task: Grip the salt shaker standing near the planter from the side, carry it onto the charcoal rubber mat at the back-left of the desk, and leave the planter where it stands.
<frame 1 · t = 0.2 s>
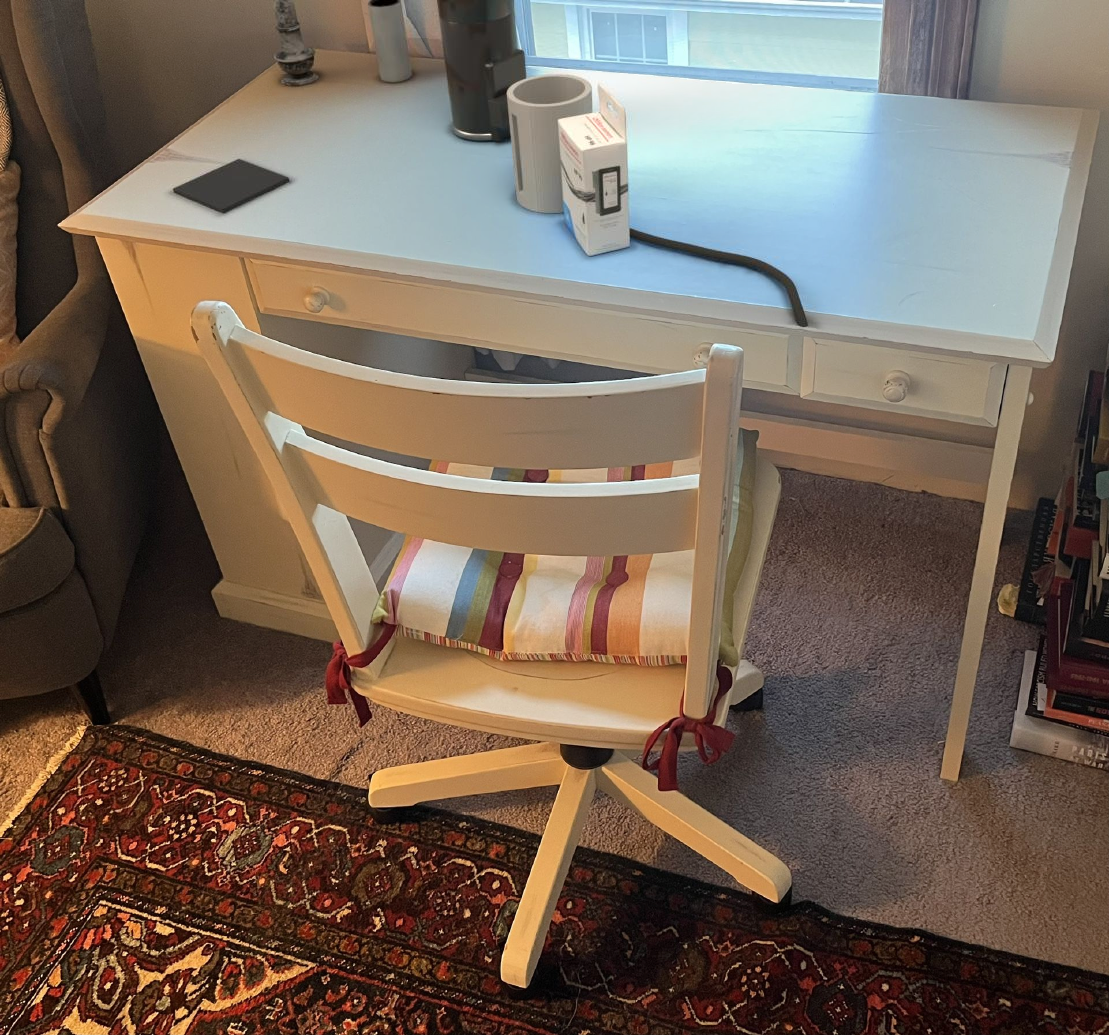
ink box: (596, 237, 117), on the table
planter: (396, 78, 156), on the table
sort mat: (231, 186, 132), on the table
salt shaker: (300, 80, 158), on the table
cup: (556, 196, 125), on the table
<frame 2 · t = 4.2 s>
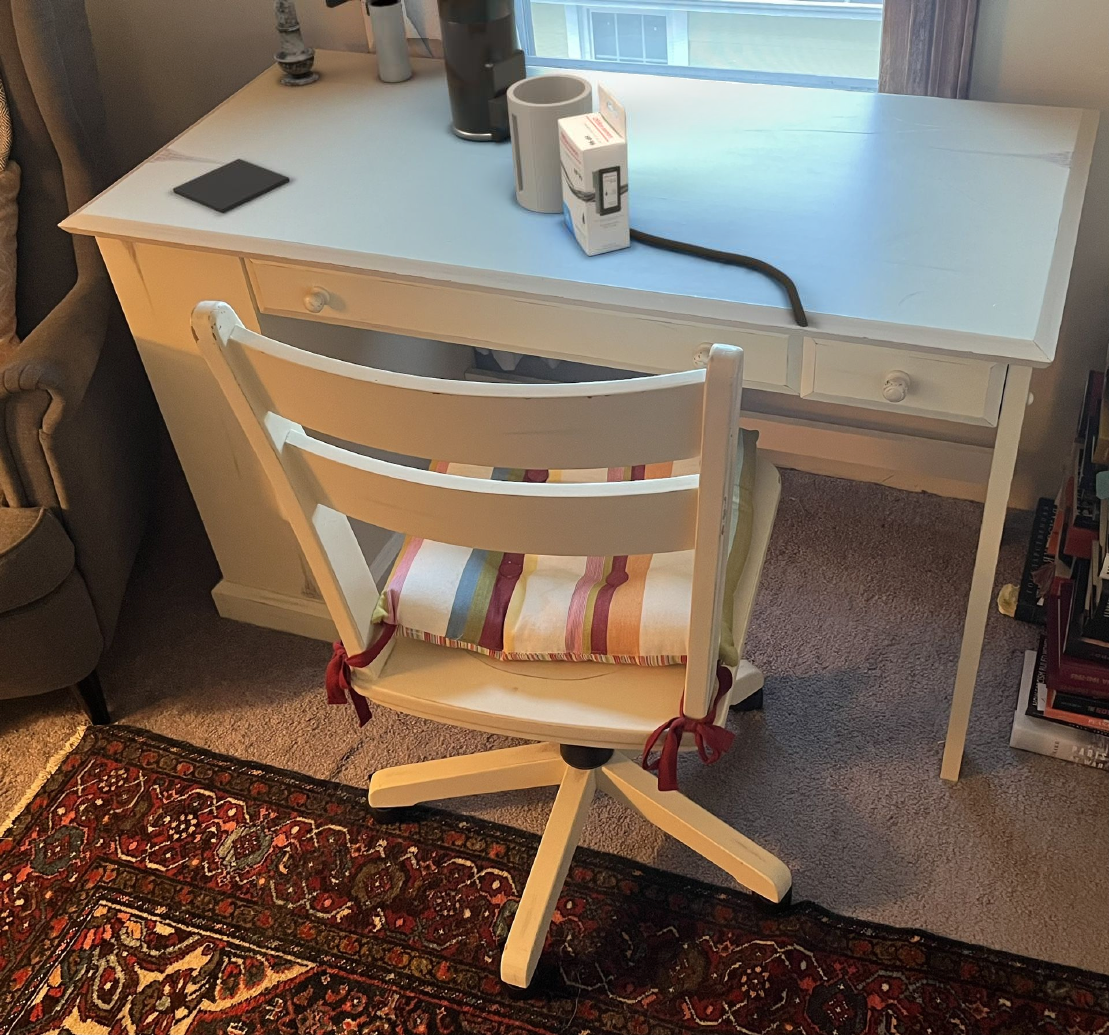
hand: (347, 5, 159), 7 cm above the table, tool horizontal, fingers open, 8 cm apart
nothing on the table moved.
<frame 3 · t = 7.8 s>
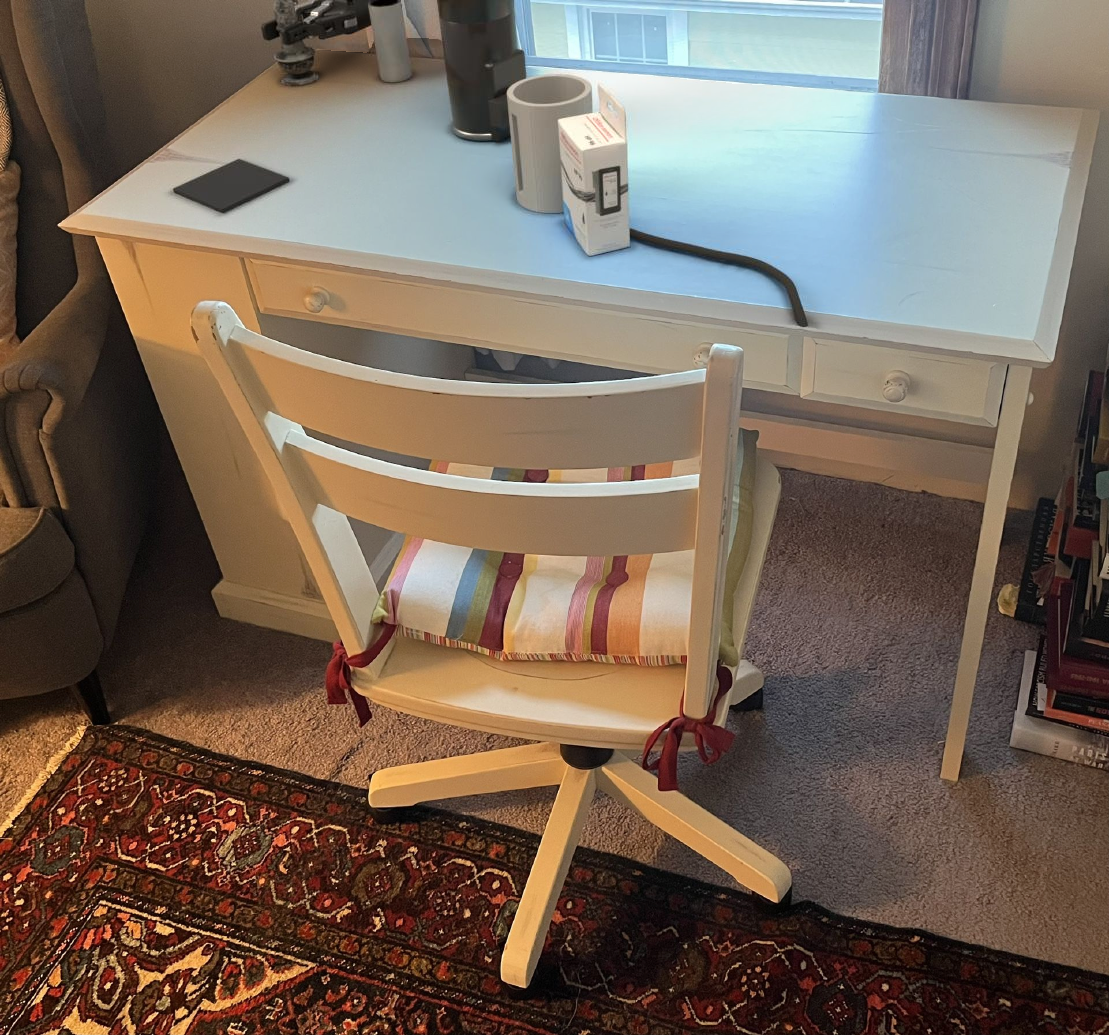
hand: (274, 35, 152), 7 cm above the table, tool horizontal, fingers closed on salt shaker, 3 cm apart
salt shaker: (300, 80, 158), on the table, touching gripper
everything else where it was.
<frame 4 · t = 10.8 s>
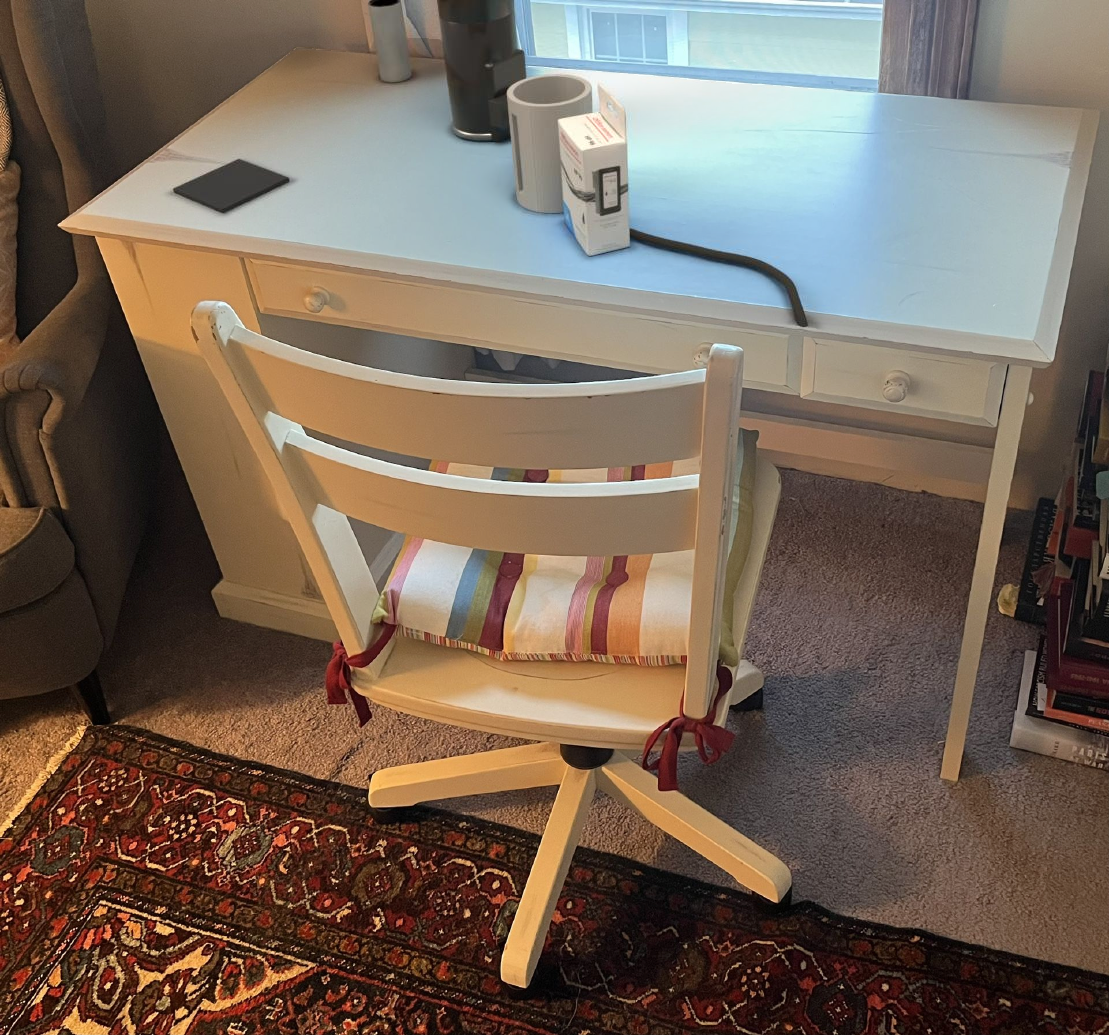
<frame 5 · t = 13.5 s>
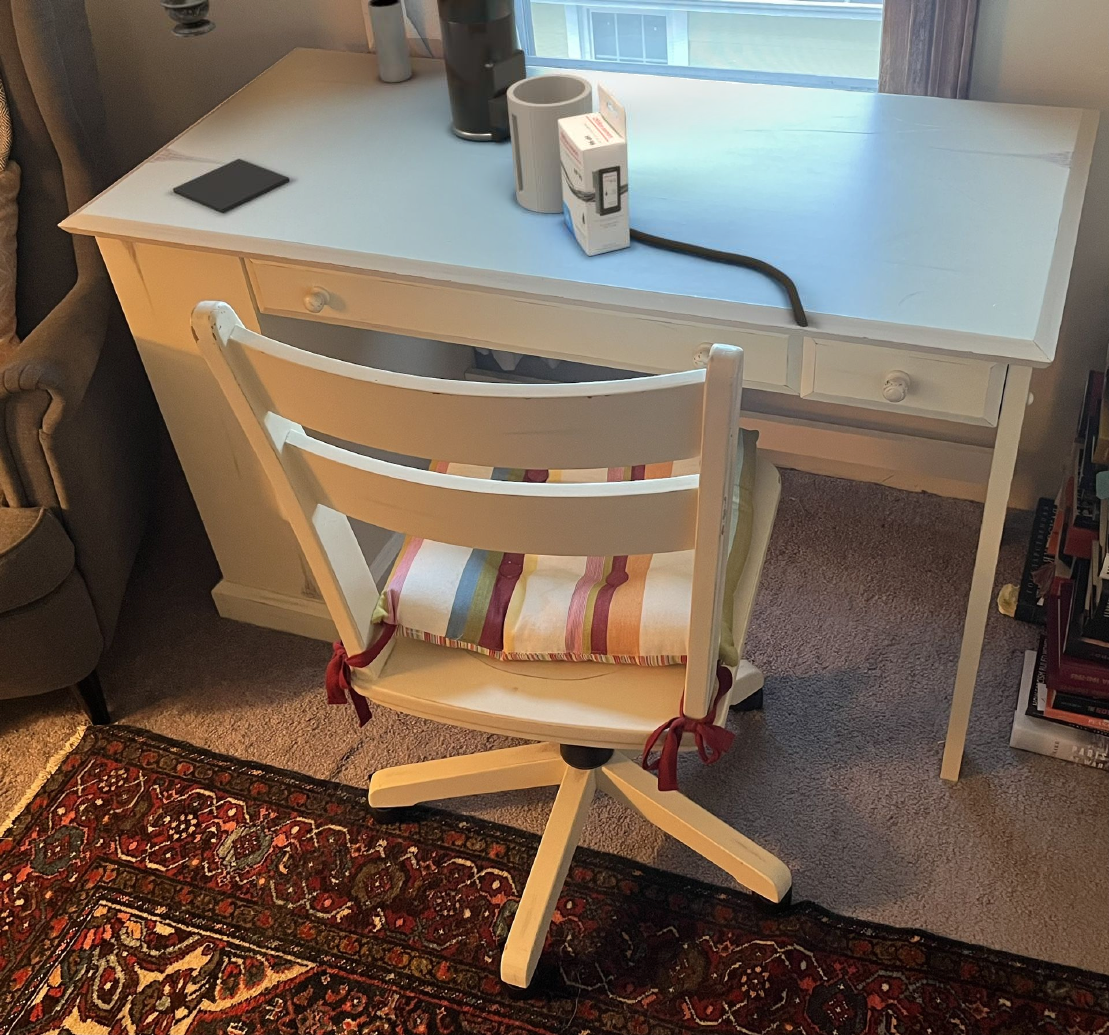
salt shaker: (194, 31, 132), point 14 cm above the table, touching gripper
everything else where it was.
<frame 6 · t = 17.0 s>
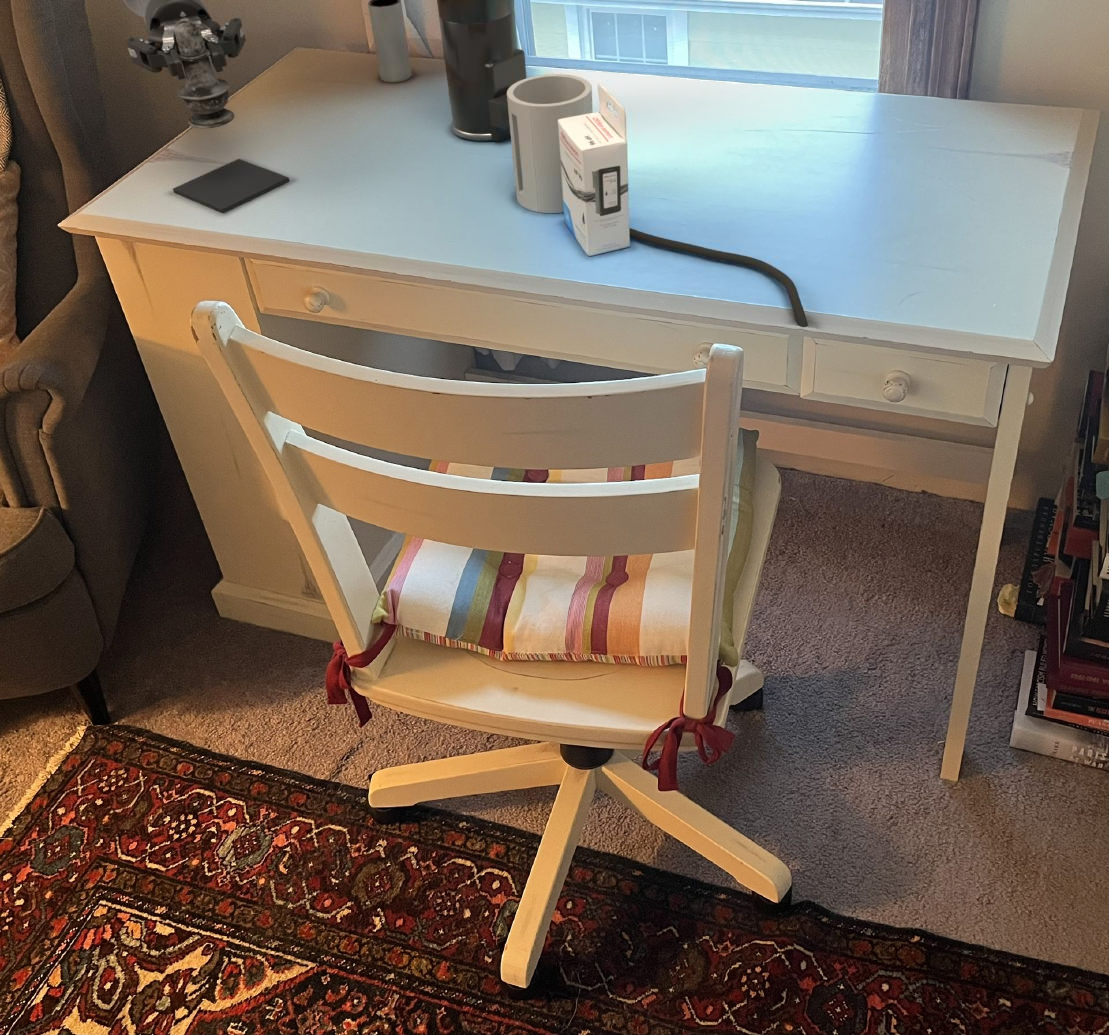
hand: (199, 66, 120), 15 cm above the table, tool horizontal, fingers closed on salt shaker, 3 cm apart
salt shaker: (212, 120, 127), point 8 cm above the table, touching gripper
everything else where it was.
when the fingers open (7 cm above the table, at t = 19.4 s): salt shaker stays where it is, resting on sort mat.
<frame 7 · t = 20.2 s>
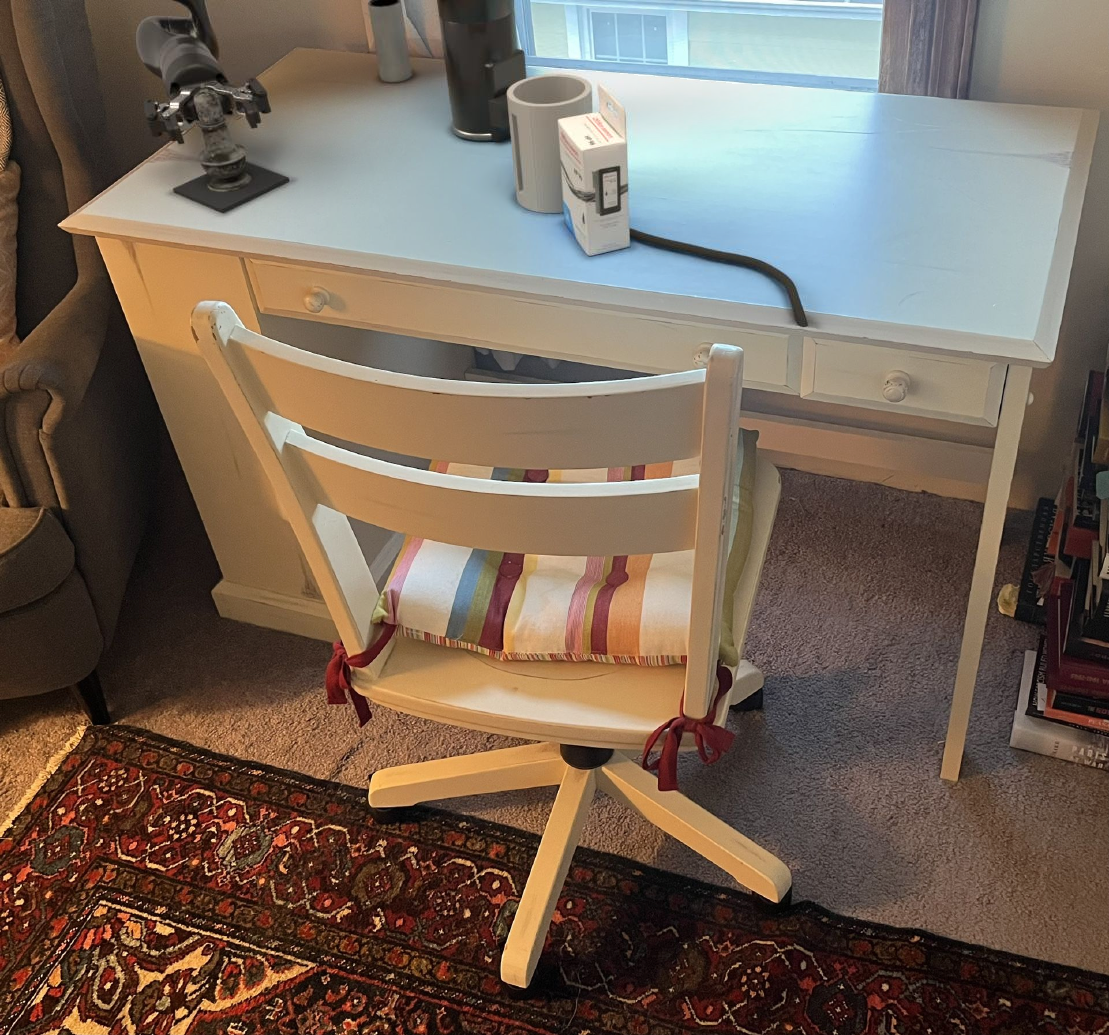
hand: (216, 128, 126), 8 cm above the table, tool horizontal, fingers open, 8 cm apart
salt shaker: (230, 184, 132), resting on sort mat
everything else where it was.
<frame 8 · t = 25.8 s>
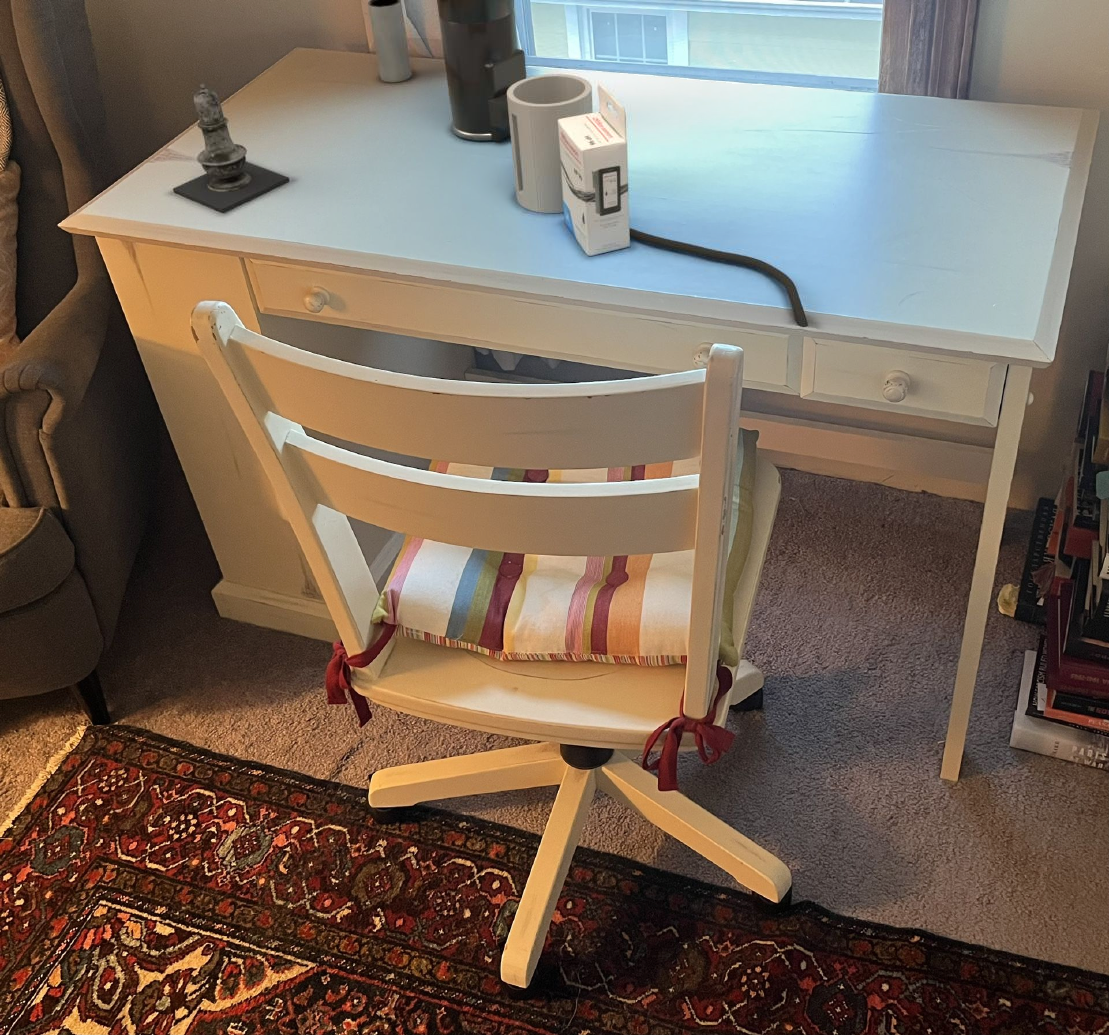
nothing on the table moved.
at the end: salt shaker inside the target area on the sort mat (0.2 cm from its centre), point 0.3 cm above the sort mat's base; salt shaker tilted 0°; planter moved 0.2 cm from its start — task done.
